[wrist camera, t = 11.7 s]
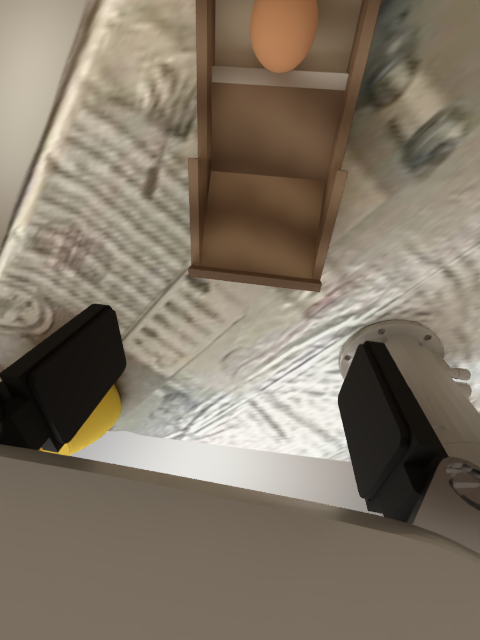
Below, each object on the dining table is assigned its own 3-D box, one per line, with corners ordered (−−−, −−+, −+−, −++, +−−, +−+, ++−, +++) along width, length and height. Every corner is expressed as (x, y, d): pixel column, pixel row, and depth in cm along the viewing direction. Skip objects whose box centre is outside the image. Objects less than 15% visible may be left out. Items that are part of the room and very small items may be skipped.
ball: (310, 57, 22) (327, -40, 17) (308, 87, 20) (326, -13, 15) (253, 54, 22) (255, -42, 18) (245, 83, 20) (245, -16, 16)
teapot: (95, 426, 54) (49, 492, 43) (13, 368, 48) (-66, 428, 37) (157, 392, 46) (119, 464, 35) (67, 316, 39) (-13, 375, 28)
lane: (311, 266, 30) (319, 291, 24) (206, 254, 31) (188, 276, 25) (408, -153, 16) (485, -341, 10) (206, -152, 17) (165, -323, 11)
